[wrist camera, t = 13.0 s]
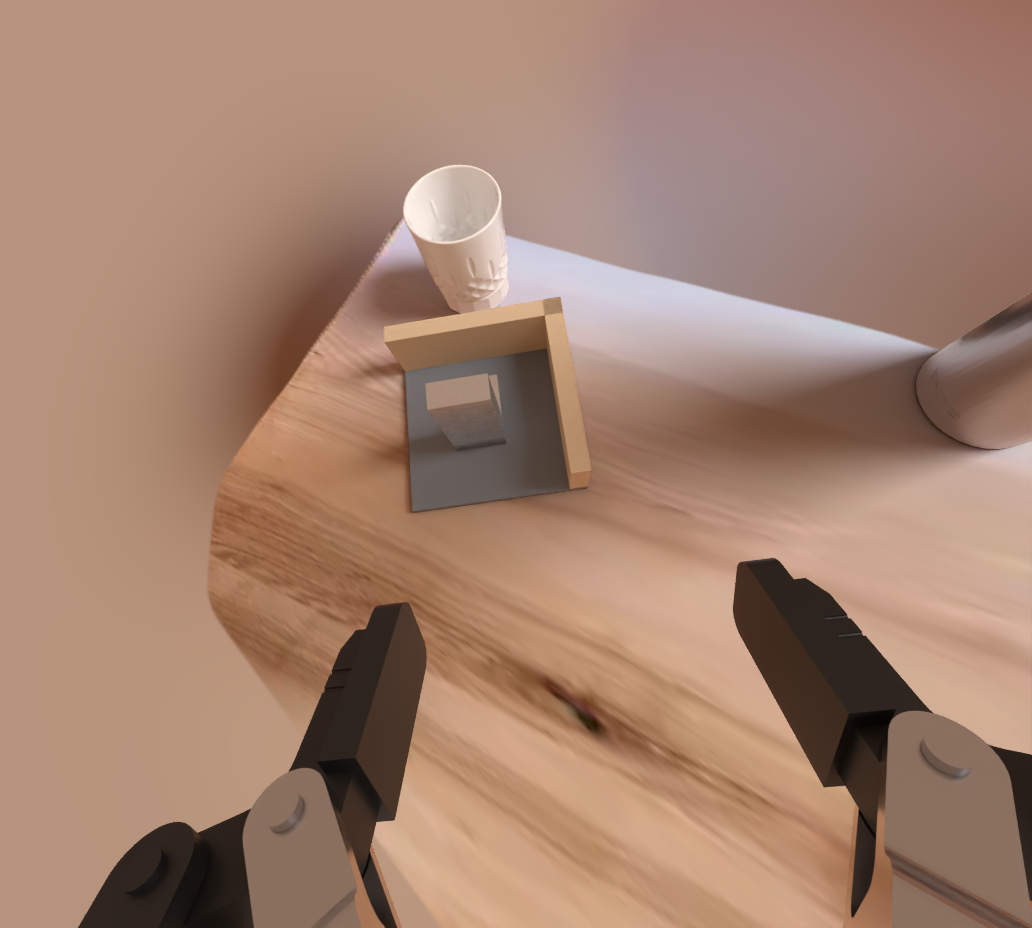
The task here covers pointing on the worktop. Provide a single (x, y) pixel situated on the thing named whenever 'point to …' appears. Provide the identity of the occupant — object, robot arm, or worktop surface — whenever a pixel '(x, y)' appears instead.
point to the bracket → (468, 410)
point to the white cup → (460, 235)
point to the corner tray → (525, 402)
